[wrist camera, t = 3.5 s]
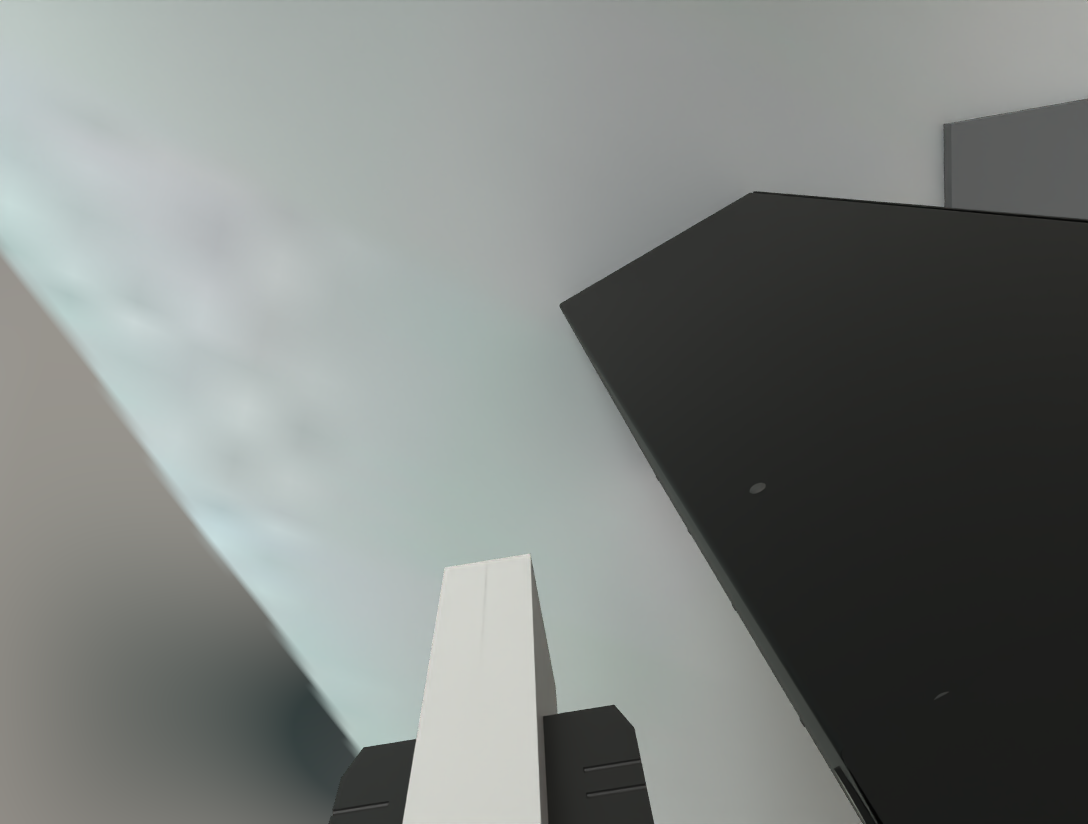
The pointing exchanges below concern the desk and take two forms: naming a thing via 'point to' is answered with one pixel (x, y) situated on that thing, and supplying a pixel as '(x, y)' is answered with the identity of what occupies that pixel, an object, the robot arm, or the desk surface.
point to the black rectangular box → (882, 479)
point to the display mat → (1020, 162)
